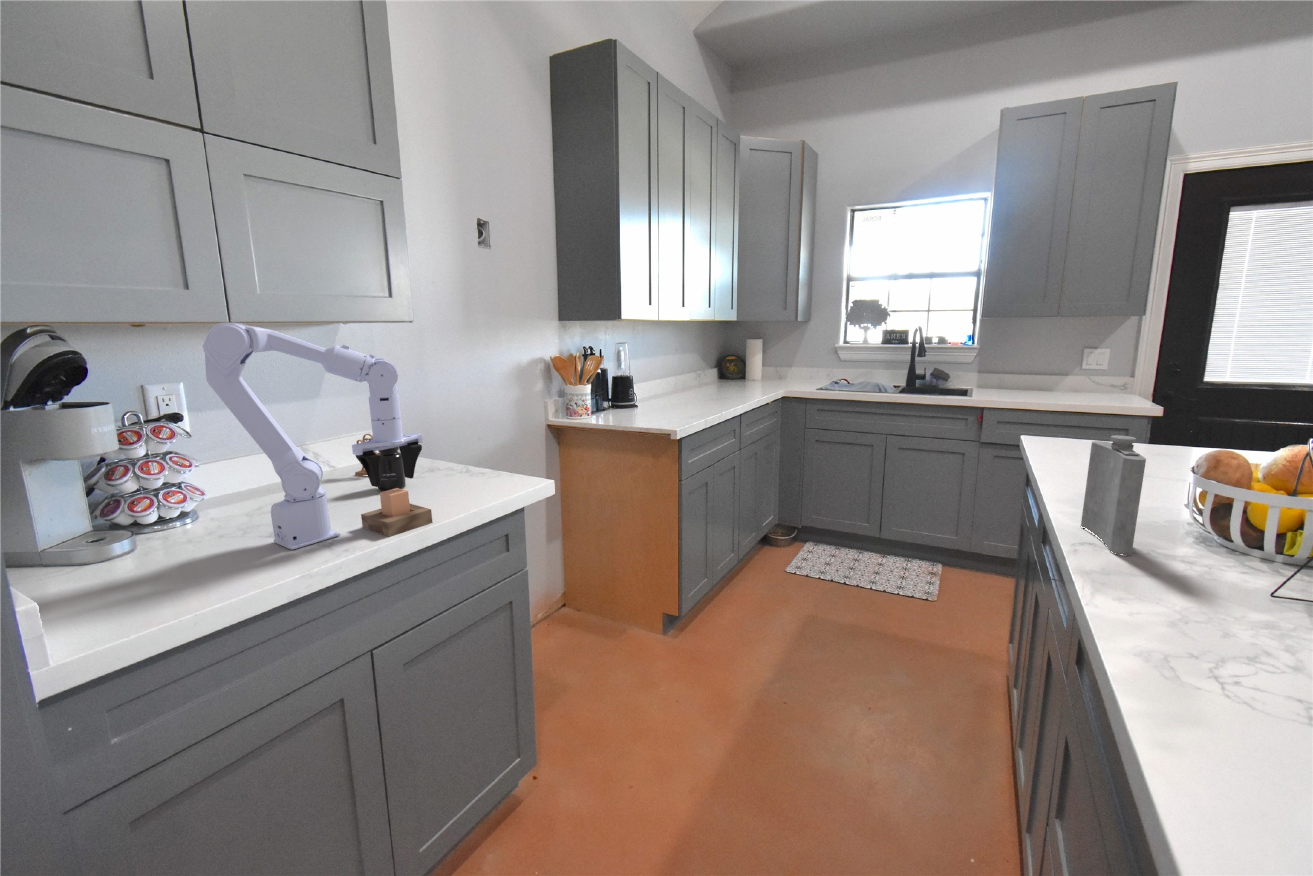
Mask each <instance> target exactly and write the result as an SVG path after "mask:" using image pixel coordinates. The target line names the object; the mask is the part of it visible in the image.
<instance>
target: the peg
mask: <svg viewBox="0 0 1313 876" xmlns="http://www.w3.org/2000/svg"><path fill="white" fill-rule="evenodd" d="M379 496H380V497H379V498H380V506H381V508H382V515H385V516H389V517H395V516H399V515H402V514H405V513H408V512H410V504H411V503H410V497H409V490H406V489H404V488H403V489H399V488H396V489H392V490H388V491H381V492H379ZM409 503H410V504H409ZM381 508H380V509H381Z"/></svg>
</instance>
